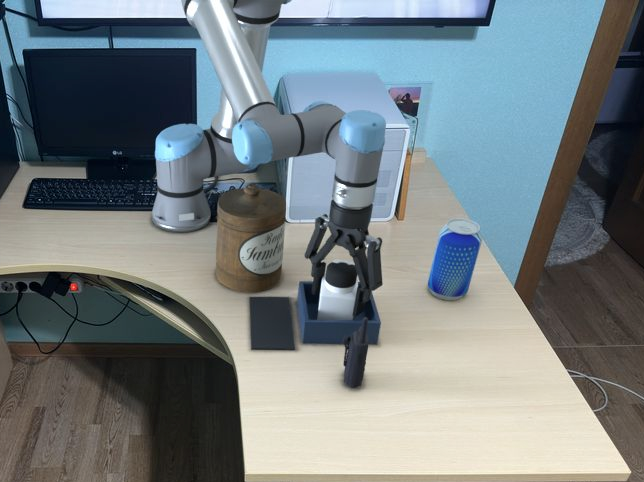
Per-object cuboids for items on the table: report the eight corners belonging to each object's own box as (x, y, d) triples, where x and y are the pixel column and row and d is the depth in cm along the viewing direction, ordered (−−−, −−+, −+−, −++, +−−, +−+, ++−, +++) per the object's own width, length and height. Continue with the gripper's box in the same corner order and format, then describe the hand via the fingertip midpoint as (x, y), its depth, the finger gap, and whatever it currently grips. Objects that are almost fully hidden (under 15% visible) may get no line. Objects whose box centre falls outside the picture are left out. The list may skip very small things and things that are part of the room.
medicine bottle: (352, 327, 134) (361, 277, 127) (316, 323, 135) (323, 273, 128) (353, 307, 140) (361, 257, 132) (318, 303, 141) (325, 254, 133)
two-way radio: (362, 390, 122) (374, 324, 112) (337, 388, 122) (347, 321, 113) (361, 371, 126) (373, 305, 117) (337, 368, 127) (347, 303, 117)
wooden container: (253, 300, 145) (258, 207, 131) (202, 276, 153) (202, 186, 139) (294, 273, 153) (302, 183, 140) (244, 251, 161) (247, 164, 148)
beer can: (424, 298, 145) (440, 231, 135) (428, 278, 151) (443, 213, 141) (465, 305, 142) (484, 238, 132) (467, 284, 148) (485, 219, 138)
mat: (249, 298, 146) (249, 296, 145) (288, 298, 145) (288, 297, 145) (251, 349, 132) (251, 348, 131) (294, 350, 131) (294, 348, 131)
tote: (297, 301, 144) (299, 281, 141) (365, 302, 144) (369, 281, 140) (302, 343, 133) (304, 321, 130) (377, 344, 132) (381, 322, 129)
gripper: (291, 187, 126) (283, 287, 140) (392, 229, 113) (371, 334, 127) (317, 175, 130) (306, 273, 144) (417, 215, 117) (394, 318, 131)
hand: (337, 302), depth 135 cm, fingers closed on medicine bottle, 10 cm apart
